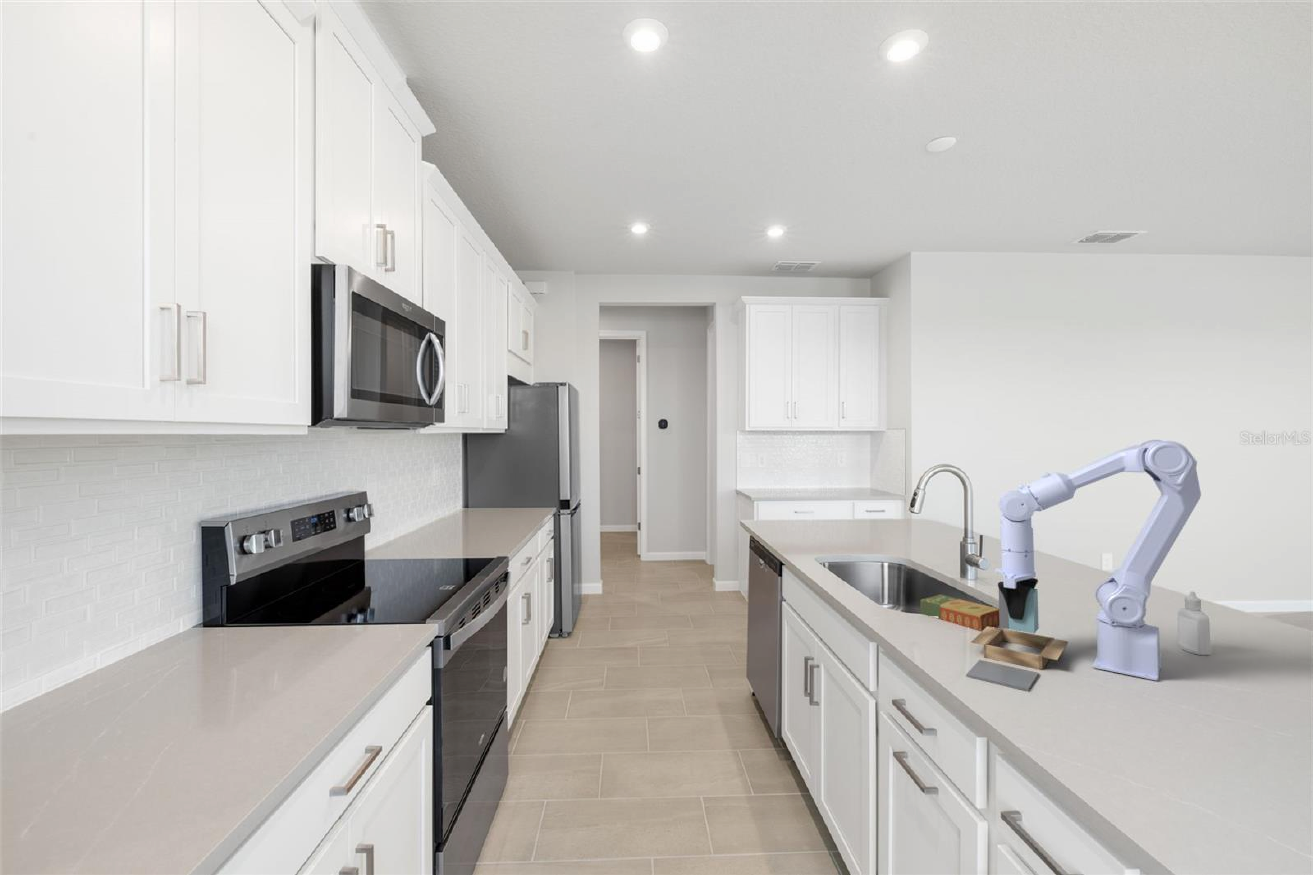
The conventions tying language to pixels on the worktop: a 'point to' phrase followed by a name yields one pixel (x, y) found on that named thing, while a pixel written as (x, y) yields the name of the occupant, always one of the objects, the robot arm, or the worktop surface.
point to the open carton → (995, 636)
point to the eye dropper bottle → (1193, 627)
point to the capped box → (1029, 618)
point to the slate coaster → (1003, 675)
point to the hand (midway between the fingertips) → (1019, 616)
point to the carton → (961, 612)
